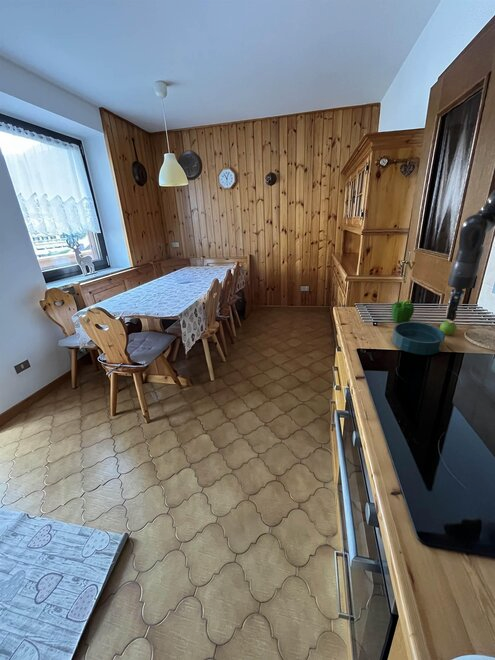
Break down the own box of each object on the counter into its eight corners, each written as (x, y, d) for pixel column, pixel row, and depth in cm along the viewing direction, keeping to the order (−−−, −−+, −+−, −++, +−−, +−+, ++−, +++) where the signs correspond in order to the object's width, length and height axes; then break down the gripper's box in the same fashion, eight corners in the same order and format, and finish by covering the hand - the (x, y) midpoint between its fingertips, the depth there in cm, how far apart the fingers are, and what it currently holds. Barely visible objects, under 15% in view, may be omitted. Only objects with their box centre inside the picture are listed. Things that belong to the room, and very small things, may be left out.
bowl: (443, 340, 107) (447, 328, 104) (437, 361, 96) (441, 347, 93) (397, 330, 116) (399, 318, 113) (386, 348, 105) (389, 335, 102)
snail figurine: (448, 329, 114) (456, 301, 109) (457, 337, 109) (466, 308, 103) (434, 329, 115) (441, 302, 109) (442, 337, 109) (450, 308, 104)
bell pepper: (385, 321, 124) (389, 299, 119) (395, 315, 128) (399, 294, 124) (405, 327, 118) (410, 305, 113) (414, 321, 122) (419, 299, 118)
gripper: (475, 280, 93) (460, 325, 101) (477, 269, 103) (463, 311, 111) (448, 277, 98) (436, 321, 105) (452, 267, 107) (441, 307, 115)
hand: (450, 316), depth 108 cm, fingers closed on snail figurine, 5 cm apart
